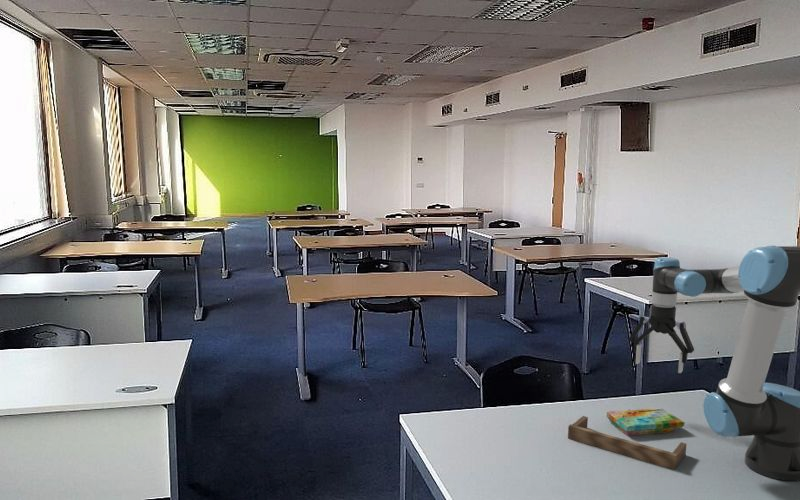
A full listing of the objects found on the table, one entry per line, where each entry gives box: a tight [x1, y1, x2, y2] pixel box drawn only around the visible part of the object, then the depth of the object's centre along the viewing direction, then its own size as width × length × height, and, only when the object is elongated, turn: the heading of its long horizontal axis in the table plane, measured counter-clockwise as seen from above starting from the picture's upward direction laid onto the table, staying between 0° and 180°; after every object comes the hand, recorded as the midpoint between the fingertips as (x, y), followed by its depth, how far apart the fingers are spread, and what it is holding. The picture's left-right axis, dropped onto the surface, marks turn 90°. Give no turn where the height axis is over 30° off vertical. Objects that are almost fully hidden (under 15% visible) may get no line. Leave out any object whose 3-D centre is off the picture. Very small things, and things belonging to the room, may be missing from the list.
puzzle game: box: [606, 407, 685, 437], centre depth 200 cm, size 12×5×20 cm
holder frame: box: [567, 415, 688, 471], centre depth 186 cm, size 31×12×4 cm, turn 52°
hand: (658, 367), depth 208 cm, fingers open, 13 cm apart
